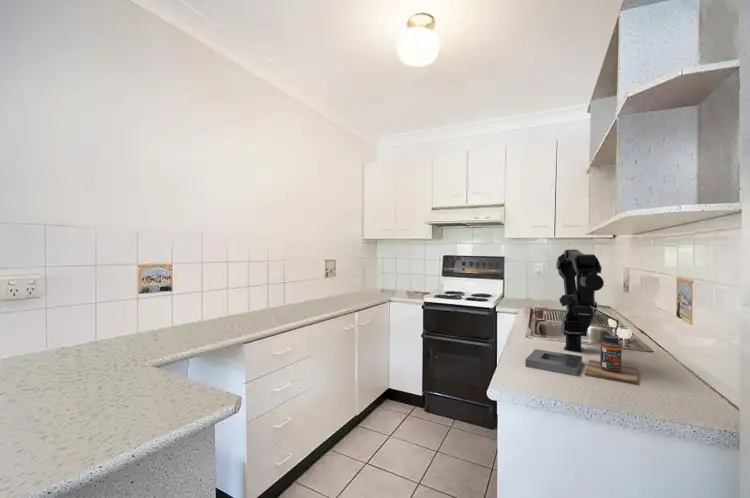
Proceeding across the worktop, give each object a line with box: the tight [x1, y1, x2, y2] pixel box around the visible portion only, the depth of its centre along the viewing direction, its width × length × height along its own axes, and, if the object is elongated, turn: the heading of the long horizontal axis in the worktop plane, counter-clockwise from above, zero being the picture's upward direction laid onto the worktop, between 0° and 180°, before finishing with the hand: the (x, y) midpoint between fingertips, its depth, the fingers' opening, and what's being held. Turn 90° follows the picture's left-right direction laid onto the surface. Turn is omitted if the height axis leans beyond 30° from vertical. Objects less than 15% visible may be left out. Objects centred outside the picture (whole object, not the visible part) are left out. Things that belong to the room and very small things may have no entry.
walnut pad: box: [584, 359, 639, 386], centre depth 116 cm, size 16×14×1 cm
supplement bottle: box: [599, 334, 623, 372], centre depth 116 cm, size 6×6×11 cm
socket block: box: [524, 348, 583, 376], centre depth 124 cm, size 16×16×2 cm
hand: (585, 329), depth 127 cm, fingers open, 9 cm apart
